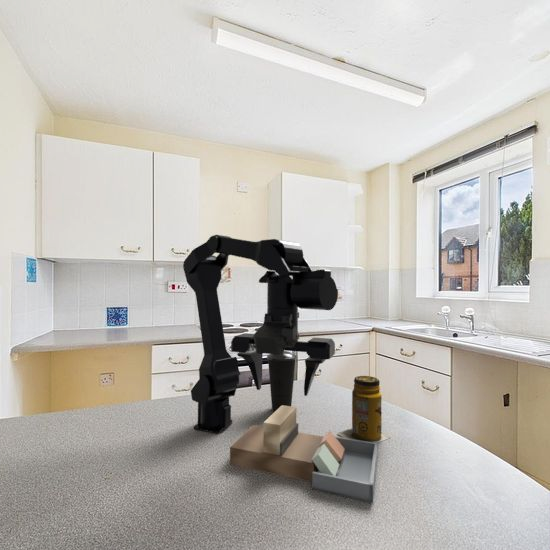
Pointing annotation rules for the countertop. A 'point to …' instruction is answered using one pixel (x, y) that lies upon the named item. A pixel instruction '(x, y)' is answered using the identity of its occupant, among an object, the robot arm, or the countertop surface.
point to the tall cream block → (280, 430)
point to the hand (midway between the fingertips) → (281, 392)
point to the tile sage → (325, 461)
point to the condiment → (366, 411)
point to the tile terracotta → (333, 446)
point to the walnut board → (289, 464)
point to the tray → (351, 472)
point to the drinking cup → (281, 378)
